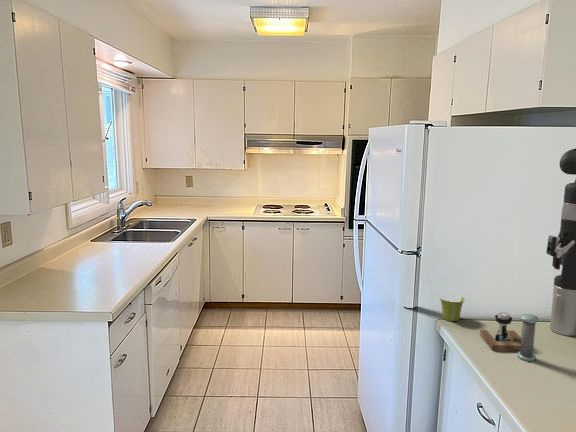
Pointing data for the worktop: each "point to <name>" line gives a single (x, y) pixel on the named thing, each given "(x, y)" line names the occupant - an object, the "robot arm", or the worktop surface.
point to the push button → (502, 326)
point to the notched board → (502, 345)
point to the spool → (527, 337)
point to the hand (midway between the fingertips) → (571, 269)
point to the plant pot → (451, 309)
